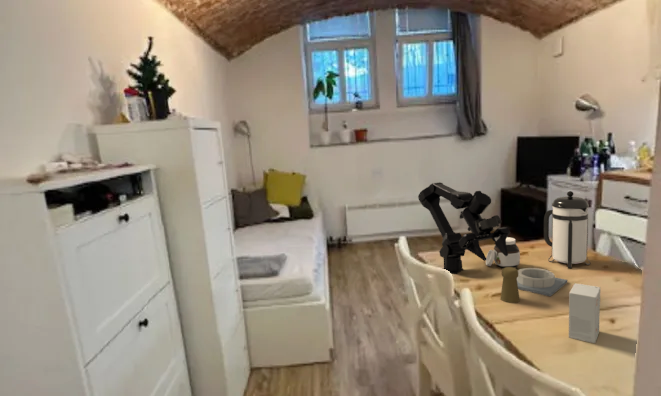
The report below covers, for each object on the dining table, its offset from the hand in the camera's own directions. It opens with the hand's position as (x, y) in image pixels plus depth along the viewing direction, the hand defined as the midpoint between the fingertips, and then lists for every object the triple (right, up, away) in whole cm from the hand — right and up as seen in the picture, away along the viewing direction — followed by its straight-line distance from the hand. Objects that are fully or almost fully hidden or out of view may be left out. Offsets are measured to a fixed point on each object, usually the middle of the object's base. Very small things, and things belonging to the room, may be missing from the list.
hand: (496, 257), depth 139 cm
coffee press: (+40, -6, +26) cm, 48 cm away
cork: (+3, -14, -4) cm, 14 cm away
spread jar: (+13, -8, +27) cm, 32 cm away
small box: (+12, -17, -29) cm, 36 cm away
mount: (+17, -11, +7) cm, 21 cm away
